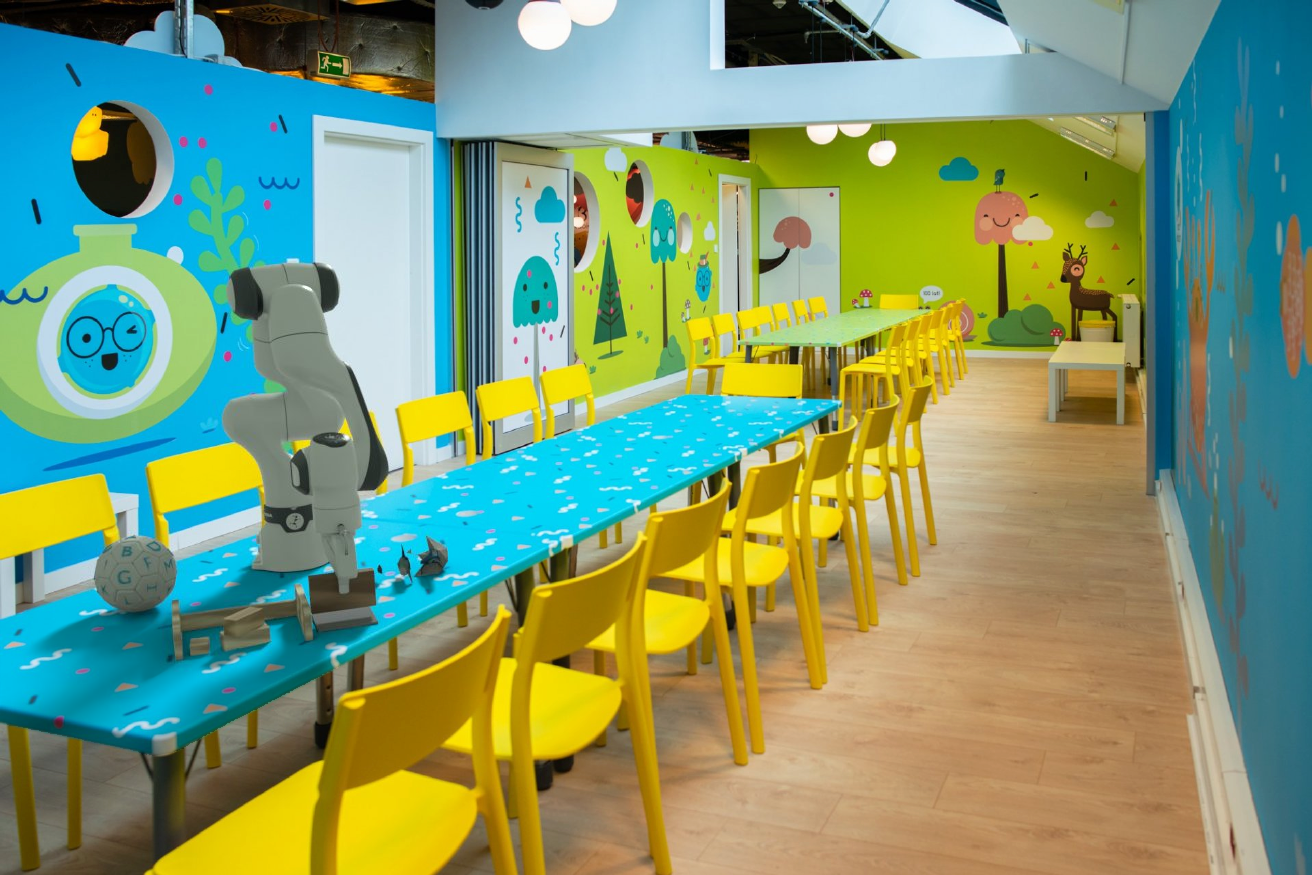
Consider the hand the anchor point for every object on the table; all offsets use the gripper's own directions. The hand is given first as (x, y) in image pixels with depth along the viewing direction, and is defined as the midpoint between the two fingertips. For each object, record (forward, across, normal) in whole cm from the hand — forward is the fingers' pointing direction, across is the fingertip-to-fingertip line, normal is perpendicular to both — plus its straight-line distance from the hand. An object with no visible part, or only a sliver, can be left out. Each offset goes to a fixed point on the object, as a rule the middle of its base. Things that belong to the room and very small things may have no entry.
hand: (342, 589), depth 219 cm
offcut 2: (+3, -5, +18) cm, 19 cm away
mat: (+6, 0, 0) cm, 6 cm away
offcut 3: (+6, -6, +18) cm, 20 cm away
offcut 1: (+6, -5, +26) cm, 27 cm away
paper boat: (+6, +27, -22) cm, 36 cm away
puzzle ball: (+6, +25, +36) cm, 45 cm away
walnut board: (+4, 0, 0) cm, 4 cm away
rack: (+6, 0, +18) cm, 19 cm away
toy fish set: (+6, +20, -12) cm, 24 cm away
